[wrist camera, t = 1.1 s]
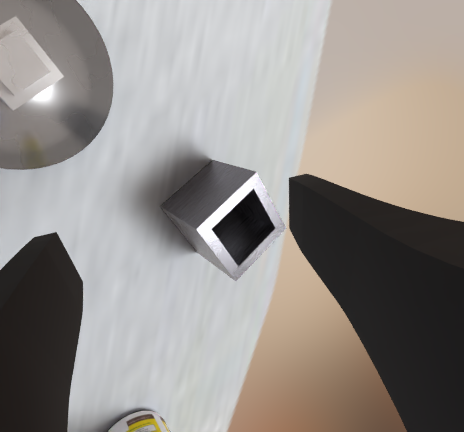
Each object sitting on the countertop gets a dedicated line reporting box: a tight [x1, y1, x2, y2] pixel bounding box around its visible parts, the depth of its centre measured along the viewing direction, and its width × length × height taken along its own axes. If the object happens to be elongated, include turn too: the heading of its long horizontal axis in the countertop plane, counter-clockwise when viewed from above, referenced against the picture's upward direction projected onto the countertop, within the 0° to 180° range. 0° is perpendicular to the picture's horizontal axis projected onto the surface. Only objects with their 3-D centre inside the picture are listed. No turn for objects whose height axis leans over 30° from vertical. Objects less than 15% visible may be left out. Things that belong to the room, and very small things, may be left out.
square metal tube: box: [160, 160, 286, 281], centre depth 22 cm, size 5×5×5 cm
